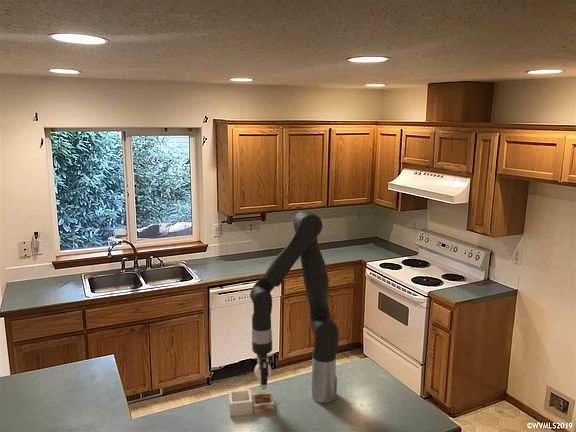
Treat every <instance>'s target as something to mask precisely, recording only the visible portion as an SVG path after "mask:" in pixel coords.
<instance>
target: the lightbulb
mask: <svg viewBox="0 0 576 432" xmlns="http://www.w3.org/2000/svg"><path fill="white" fill-rule="evenodd" d="M263 373H264V372H263ZM260 374H261V371H260V369H259V363H258V362H257V364H256V365H255V367H254V375H255V376H256V378H257V379H258V382H259V389H260V390H262V391H265V390H267V389H268V384H267V385H262V384H261V375H260ZM271 375H272V367H271V365H270V364H269V363H268V377H267V381H268V380H269V377H270V376H271Z"/></svg>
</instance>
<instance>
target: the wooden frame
mask: <svg viewBox="0 0 576 432" xmlns="http://www.w3.org/2000/svg"><path fill="white" fill-rule="evenodd" d="M251 396H252V405H253V414H259V413H268V412H270V413H271V412H275V411H276V410H275V401H274V396H273V392H272V391H268V392H257V393H251ZM258 401H259V402H263V403H257V402H258ZM268 401H269V402H268Z"/></svg>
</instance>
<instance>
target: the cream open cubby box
mask: <svg viewBox="0 0 576 432" xmlns="http://www.w3.org/2000/svg"><path fill="white" fill-rule="evenodd" d="M251 394H252V392H251V388H246V389H237V390H236V389H235V390H228V405H229V406H228V407H229V416H232V417H233V415H234V416H241V415H249V414H250V415H251V414H254V413H253V405H252V396H251Z"/></svg>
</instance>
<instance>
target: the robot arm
mask: <svg viewBox="0 0 576 432" xmlns="http://www.w3.org/2000/svg"><path fill="white" fill-rule="evenodd" d="M293 228H294V229H293V230H294V232H295V233H294V236H293V237H292V239H291V241H289V242H288V245H286V247H285V248H284V249H283V250H282V251H281V252H280V253H279V254H277V255H276V257H275V258H274V259H273V260H272V262H271V263H270V265H269V266H268V268H267V269H266V271H265V272H264V274H263V275H262V276H261V277H260V278H259V279H258V280H257V281H256V282H255V283H254V284H253V286H252V288H251V290H250V294H249V295H250V299H251V301H252V303H253V313H252V317H251V327H252V328H251V329H252V330H251V348H252V352H253V354H254V353H255V354H256V358H257V359H256V360H257V364H258V363H259V369H260V371H261V374H260V375H261V384H262V385H267V386H268V380H267V377H268V364H269V356H268V354H270V353H271V352H272V351H273V331H272V330H273V329H272V316H271V315H272V309H273V297H272V294H271V292H272V291H273V290H274V289H275V287H280V286H281V284H282V283H283V281H284V280H285V279H286V276H287V275H288V274H289V272H290V271H291V269H292V268H293V266H294V264H296V262H297V261H298V259H299V258H300V263H301V270H302V277H303V284H304V288H305V292H306V296H307V297H306V298H307V301H308V304H309V305H308V306H309V316H310V329H311V331H312V334H313V335H314V347H313V349H312V352H311V354H312V355H311V356H312V359H311V360H312V362H311V364H312V365H311V366H312V368H311V369H312V371H311V377H312V378H311V397H312V400H314V401H315V402H317V403H320V404H321V403H322V404H328V403H331V402H333V401H337V398H338V376H337V373H336V372H337V371H336V369H337V354H338V350H339V333H340V332H339V328H338V325H337V324H336V323H335V321H334V320H333V318H332V316H331V312H330V309H329V303H328V296H329V289H330V284H329V275H328V269H327V266H326V263H325V260H324V258H323V255H322V252H321V249H320V246H319V244H318V236H319V235H320V233H322V230H323V221H322V219H321V218H320V216H318V215H317V214H315V213H314V212H311V211H308V210H301V211H299V212H297V213H296V214H295V216H294V219H293ZM263 372H264V373H263Z"/></svg>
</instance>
